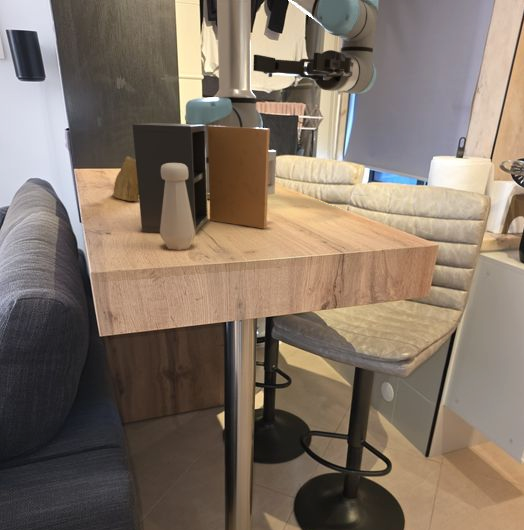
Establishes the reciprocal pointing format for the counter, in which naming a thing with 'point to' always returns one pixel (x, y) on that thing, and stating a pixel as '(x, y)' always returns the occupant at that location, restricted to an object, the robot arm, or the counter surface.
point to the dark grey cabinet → (170, 151)
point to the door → (240, 174)
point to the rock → (127, 181)
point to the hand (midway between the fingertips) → (283, 62)
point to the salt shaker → (176, 208)
